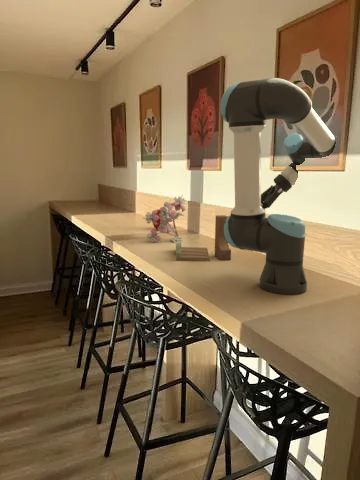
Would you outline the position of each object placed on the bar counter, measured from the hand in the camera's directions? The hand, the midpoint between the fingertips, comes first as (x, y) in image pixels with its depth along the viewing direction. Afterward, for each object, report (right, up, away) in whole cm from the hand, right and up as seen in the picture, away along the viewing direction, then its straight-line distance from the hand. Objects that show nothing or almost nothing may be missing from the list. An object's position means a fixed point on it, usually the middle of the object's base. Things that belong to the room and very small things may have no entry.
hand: (248, 215), depth 161 cm
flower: (-38, -12, +38) cm, 55 cm away
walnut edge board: (-23, -17, +8) cm, 30 cm away
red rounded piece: (-41, -4, +74) cm, 85 cm away
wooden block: (-11, -18, +4) cm, 21 cm away
